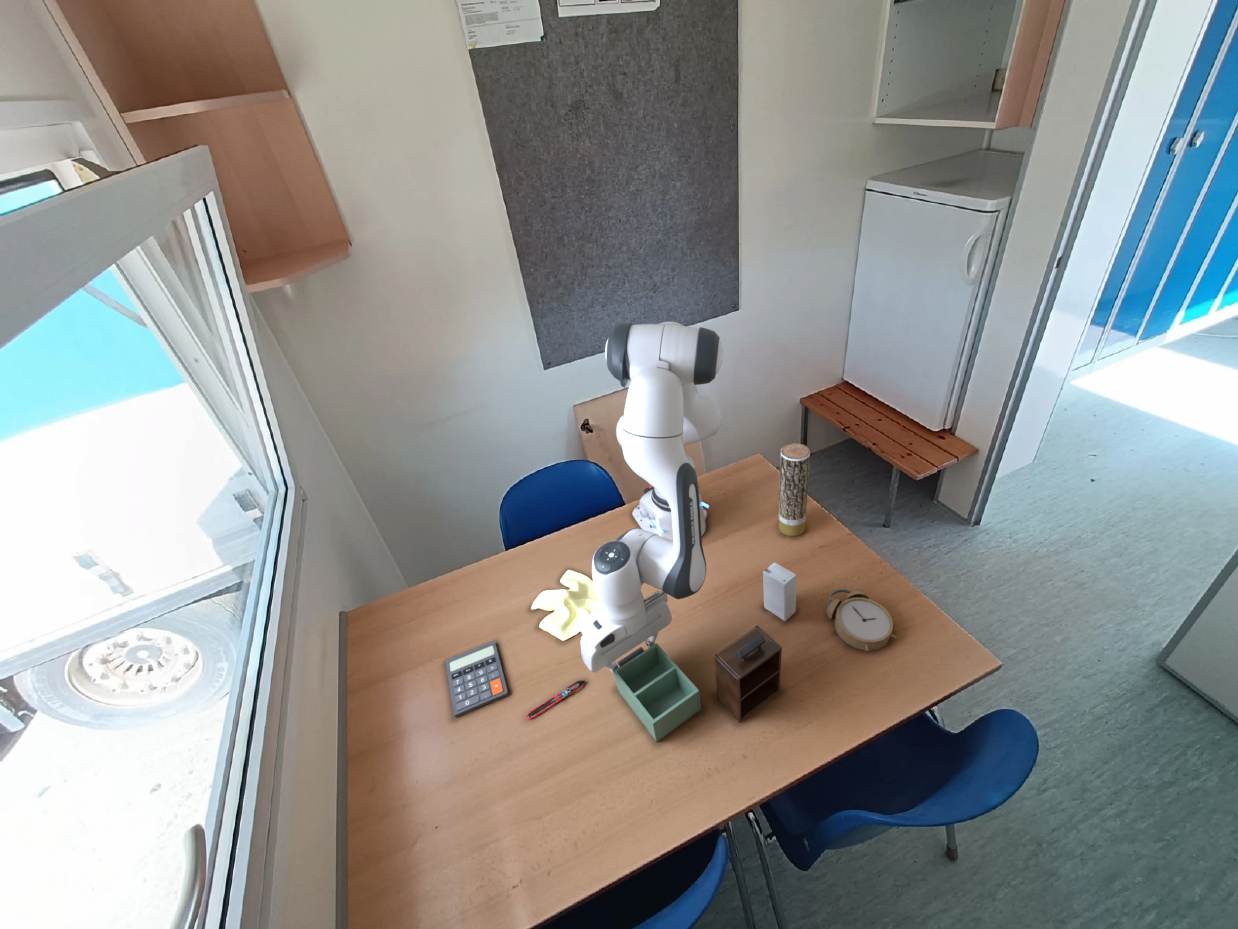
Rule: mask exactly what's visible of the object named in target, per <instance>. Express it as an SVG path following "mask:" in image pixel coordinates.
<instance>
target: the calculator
mask: <svg viewBox="0 0 1238 929" xmlns="http://www.w3.org/2000/svg"><path fill="white" fill-rule="evenodd" d="M445 668H446V674H447V682H448V686H449V693H450V700H451V706H452V712H453V716H454V717H456V718H457V717H459V716H462V715H465V714H467V713H469V712H471V711H474V710H476V709H479V708H481V707H483V706H486V705H488V704H491V703H493V702H495V701H497V700H500V699H502V698H504V697H507V696H508V695H509V690H508V686H507V682H506V679H505V675H504V671H503V667H502V664H501V659H500V654H499V651H498V647H497V644H496V641H495V640H493V641H490V642H487V643H485V644H482V645H480V646H478V647H475V648H473V649H470V650H468V651H465V652H462V653H461V654H457V655H455V656H453V657H450V658H447V659H446V660H445Z"/></svg>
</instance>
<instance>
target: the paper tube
mask: <svg viewBox="0 0 1238 929" xmlns="http://www.w3.org/2000/svg"><path fill="white" fill-rule="evenodd" d="M810 460H811V451H810V448H809V447H808V446H807V445H805V444H802V443H795V442H794V443H788V444H785V445H783V446H782V447H781V449H780V454H779V486H778V489H779V490H778V523H777V524H778V525H777V526H778V530H779V531H780V532H781V533H782V534H783V535H785V536H788V537H796V536H797V537H798V536H800V535H802V534H803V533H804V532H805V530H806V522H807V521H806V520H807V505H808V504H807V503H808V488H809V474H810Z"/></svg>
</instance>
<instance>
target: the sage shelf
mask: <svg viewBox="0 0 1238 929" xmlns="http://www.w3.org/2000/svg"><path fill="white" fill-rule="evenodd" d="M617 665H618V669H616V670H615V671H613V673H612V674H613V677H614V682H615V686H616V689H617V691H618V693H619V695H620V696H621V697H622V699H623V700H624V701H625V702H626V704H627V705H628V706H629V708H630V709H631V710H632V711H633V713H634V714H635V716H636V718H638V719H639V721H640V722H641V724H642V725H643V726H644V727H645V729H646V731H647V732H648V733H649V734H650V736H651V737H652V738H653V740H654V741H655V742H656V743H657V742H659V741H660V740H662V739H663V738H665V736H667V735H669V734H670V733H672V732H673V731H674V730H675V729H677V728H678V727H680V726H681V725H682V724H684V723H685V722H686V721H688V720H689V719H690V718H692V717H693V716H695V715H696V714H697V713H699V712H700V711H701V710H702V706H701V704H702V703H701V695H700V690H699V689H698V688H697V687H696V685H695V684H694V683H693V682H692V681H691V679H689V677H688V676H687V675H686V674H685V672H683V671H682V670H681V669H680V667H679V666H678V665H677V664H676V663H675V661H674V660H672V658H670V656H669V655H668V654H667V653H666V651H664V649H663V648H662V647H661V646H660V645H659V644H658V643H656V642H655V645H653V646H651V647H650V648H648V647H647V649H644V648H643V647H642V646H640V647H638V648H637V649H635V650H634V651H632V652H631V653H629V654H627V655H626V656H625V657H623V658H621V659H620V660H618V661H617Z"/></svg>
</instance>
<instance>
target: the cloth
mask: <svg viewBox="0 0 1238 929" xmlns="http://www.w3.org/2000/svg"><path fill="white" fill-rule="evenodd" d="M559 582H560V584H562V585H563V586H564V587H567V588H569V589H564V588H560V589H547V590H543V591H542V592H539V595H538V596H537V597H535V598H536V599H535V600H534V601H533V603H532V604H531V607H530V609H531V610H532V611H533V610H537V609H540V610H542V611H547V612H552V611H553V612H552V613H549V614H548V615H547V616H545V617H544V618H543V619H542V620H541V621H540V623H539V626H538V627H539V628H540V629H541V630H543V631H544V632H547V633H548V634H550V635H552V636H553V637H555V638H557V639H559V640H561V641H562V642H565V641H567V640H569V639H570V638H572V637H574V636H576V635H578V634H579V633H581V631H580V629H579V626H580V624H581V623H582V622H583V621H584V620H585V619H586V618H587V617H588V616H589V615H590V614H591V613H592V612H593V611H594V610H595V609H596V607H597V606H598V605H599V599H598V598H597V596H596V593H595V589H594V585H593V579H591V578H590V577H588V576H587V575H584V574H582V573H580V572H577V571H575V570H571V569H567V570H566V571H565V573H563V575H562V576H561V578H560V580H559Z"/></svg>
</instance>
